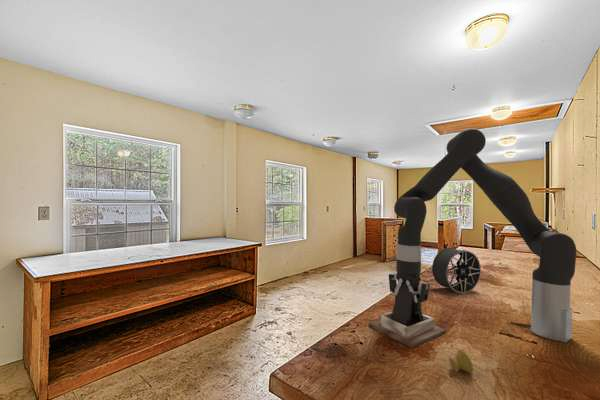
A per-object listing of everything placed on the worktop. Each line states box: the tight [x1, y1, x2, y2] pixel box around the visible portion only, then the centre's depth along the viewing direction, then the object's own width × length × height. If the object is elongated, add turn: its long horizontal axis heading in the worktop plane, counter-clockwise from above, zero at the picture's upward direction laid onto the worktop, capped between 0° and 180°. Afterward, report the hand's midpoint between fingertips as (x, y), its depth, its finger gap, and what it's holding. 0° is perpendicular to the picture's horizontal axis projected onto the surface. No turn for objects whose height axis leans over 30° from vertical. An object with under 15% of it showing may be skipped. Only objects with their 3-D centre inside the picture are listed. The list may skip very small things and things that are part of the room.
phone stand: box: [391, 286, 424, 327], centre depth 90 cm, size 9×6×12 cm, turn 118°
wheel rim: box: [431, 247, 482, 294], centre depth 134 cm, size 20×9×20 cm, turn 105°
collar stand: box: [368, 311, 447, 349], centre depth 90 cm, size 16×18×4 cm
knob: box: [448, 349, 474, 374], centre depth 68 cm, size 5×5×5 cm
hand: (407, 309), depth 90 cm, fingers closed on phone stand, 6 cm apart
